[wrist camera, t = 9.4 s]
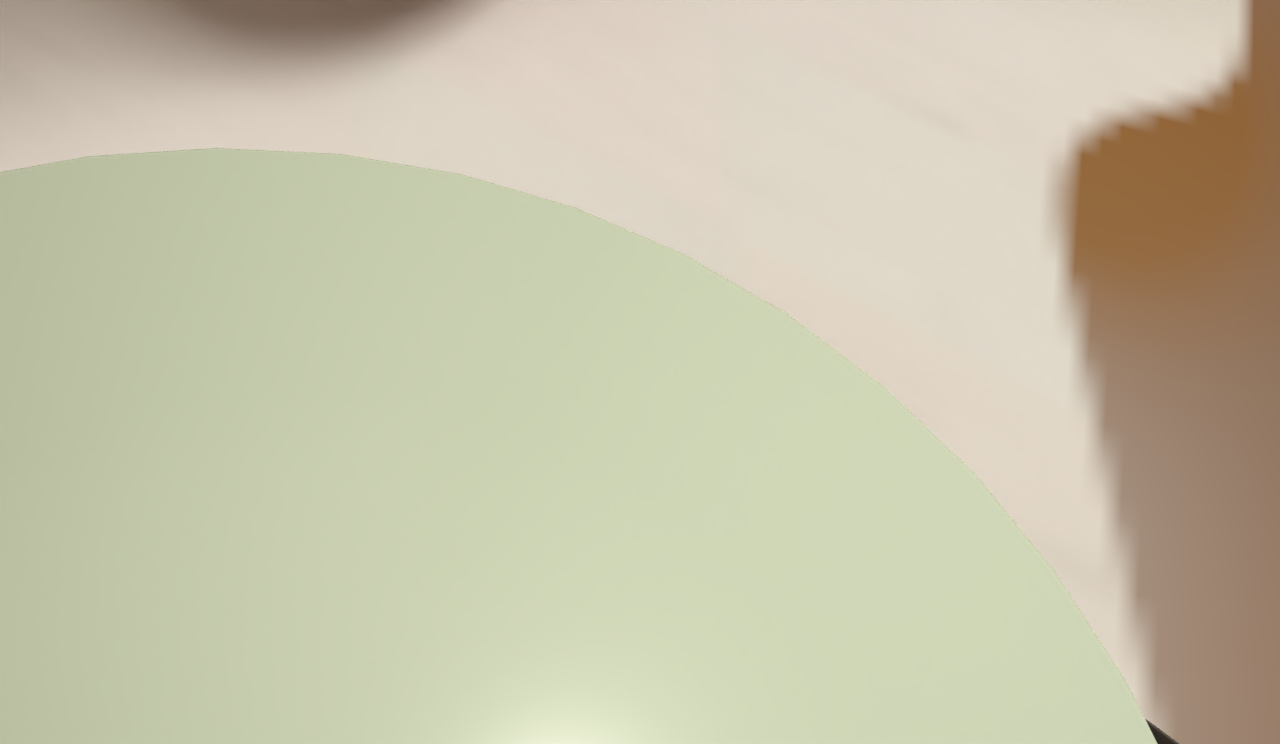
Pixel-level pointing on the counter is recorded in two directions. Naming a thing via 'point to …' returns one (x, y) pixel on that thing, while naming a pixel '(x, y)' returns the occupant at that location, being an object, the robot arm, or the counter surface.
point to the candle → (473, 486)
